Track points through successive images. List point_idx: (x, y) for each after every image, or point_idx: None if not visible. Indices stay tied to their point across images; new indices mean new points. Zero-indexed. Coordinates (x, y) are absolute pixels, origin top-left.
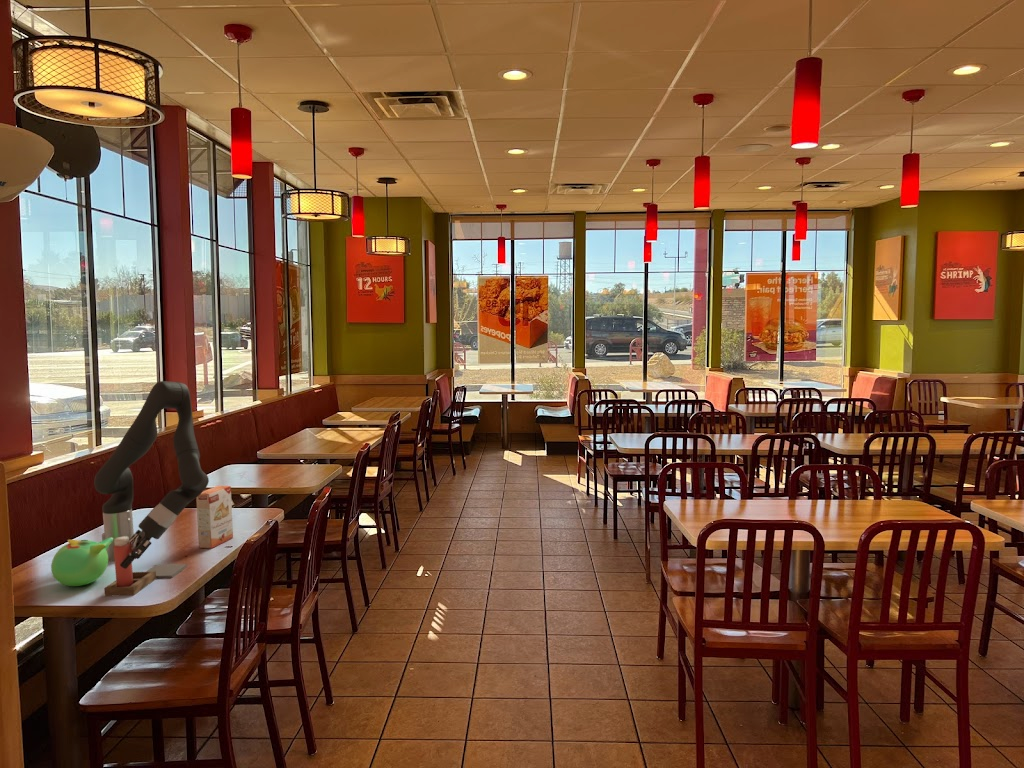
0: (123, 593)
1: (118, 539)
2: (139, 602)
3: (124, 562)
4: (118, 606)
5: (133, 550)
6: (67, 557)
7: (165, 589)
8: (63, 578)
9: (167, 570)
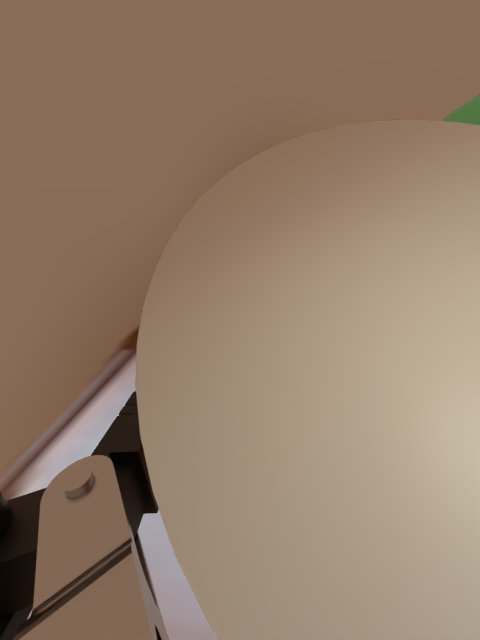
0: None
1: (312, 207)
2: (87, 452)
3: (136, 400)
4: (110, 374)
5: (39, 571)
6: (471, 108)
7: (170, 616)
8: None
9: None
